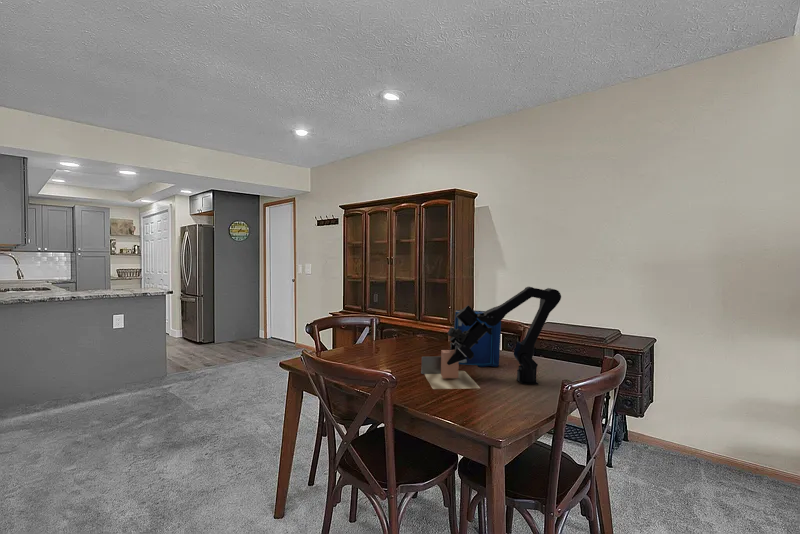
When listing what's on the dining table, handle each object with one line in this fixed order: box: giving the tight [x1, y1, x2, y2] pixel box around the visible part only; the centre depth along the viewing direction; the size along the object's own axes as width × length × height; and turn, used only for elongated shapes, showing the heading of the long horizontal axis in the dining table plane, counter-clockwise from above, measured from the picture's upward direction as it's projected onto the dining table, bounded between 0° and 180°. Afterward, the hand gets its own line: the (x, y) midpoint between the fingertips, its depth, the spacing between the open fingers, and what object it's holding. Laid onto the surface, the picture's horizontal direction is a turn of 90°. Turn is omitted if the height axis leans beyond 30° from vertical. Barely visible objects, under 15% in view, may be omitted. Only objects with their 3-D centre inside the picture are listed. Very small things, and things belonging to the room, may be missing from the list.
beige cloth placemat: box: [424, 370, 481, 390], centre depth 168 cm, size 18×24×1 cm
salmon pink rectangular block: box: [440, 349, 460, 378], centre depth 169 cm, size 6×5×10 cm
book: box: [453, 309, 502, 368], centre depth 194 cm, size 22×7×25 cm, turn 84°
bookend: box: [420, 355, 441, 375], centre depth 177 cm, size 12×3×7 cm, turn 96°
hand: (446, 362), depth 169 cm, fingers closed on salmon pink rectangular block, 5 cm apart
